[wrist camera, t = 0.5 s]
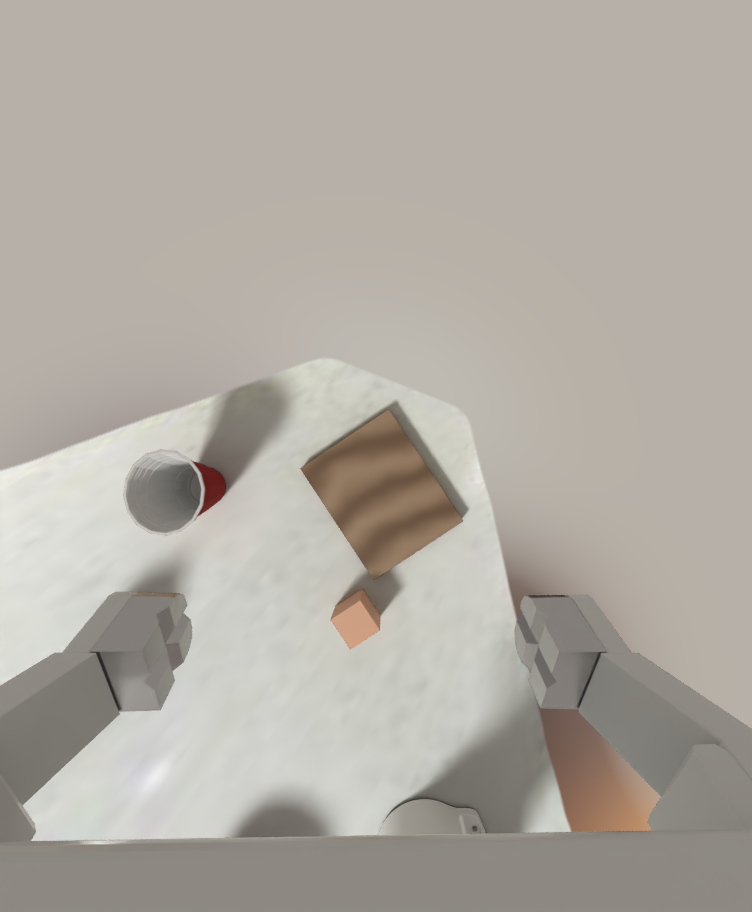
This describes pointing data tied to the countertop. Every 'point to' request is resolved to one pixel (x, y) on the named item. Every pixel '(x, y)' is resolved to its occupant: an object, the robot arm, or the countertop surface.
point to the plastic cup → (170, 491)
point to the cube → (356, 619)
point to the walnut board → (381, 494)
